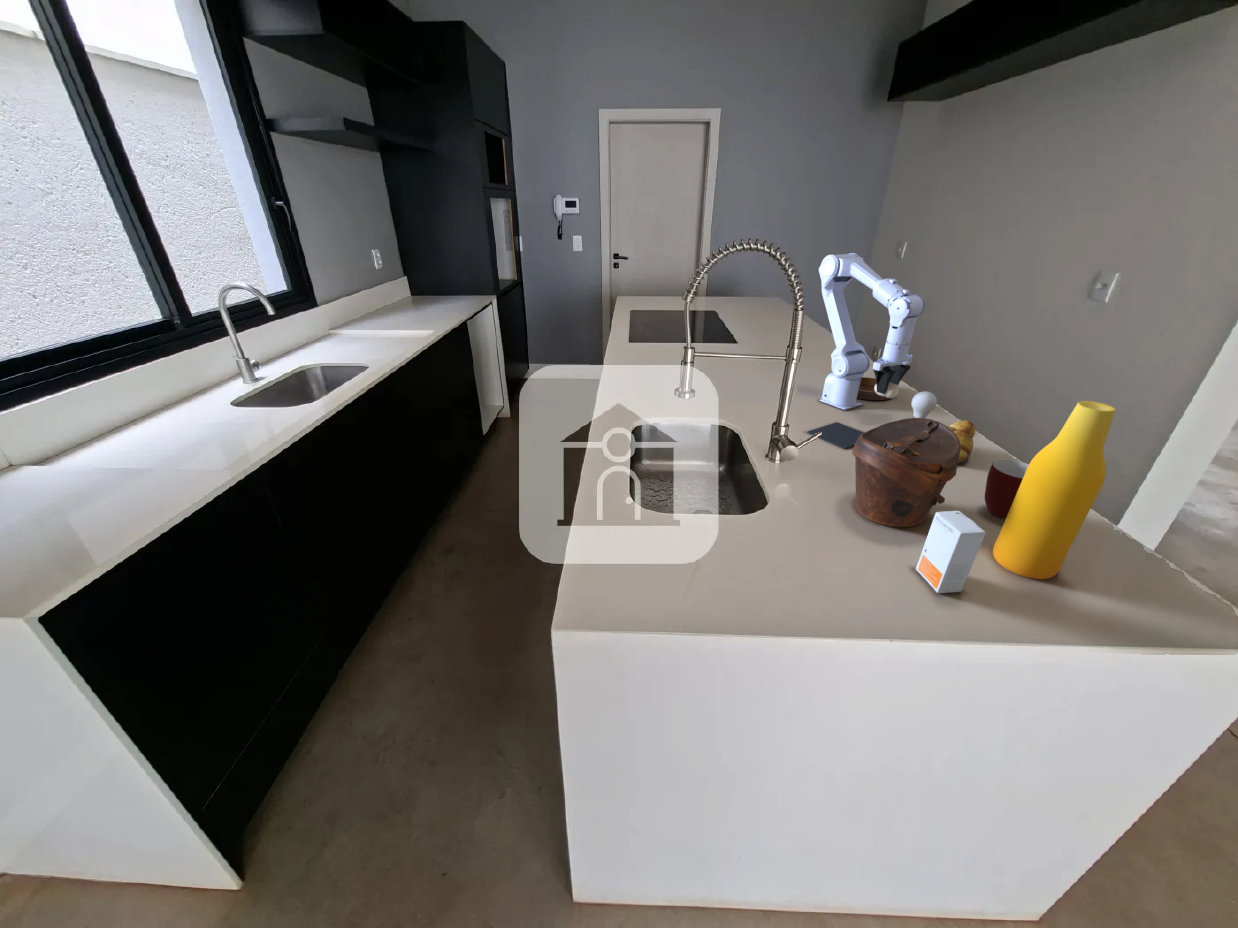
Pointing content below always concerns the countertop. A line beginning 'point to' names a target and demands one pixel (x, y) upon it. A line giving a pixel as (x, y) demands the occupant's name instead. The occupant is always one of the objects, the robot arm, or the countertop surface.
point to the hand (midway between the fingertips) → (885, 391)
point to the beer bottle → (1056, 495)
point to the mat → (838, 434)
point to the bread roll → (964, 437)
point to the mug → (1003, 485)
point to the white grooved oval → (889, 390)
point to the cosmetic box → (949, 551)
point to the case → (903, 470)
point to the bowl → (868, 390)
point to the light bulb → (923, 404)
